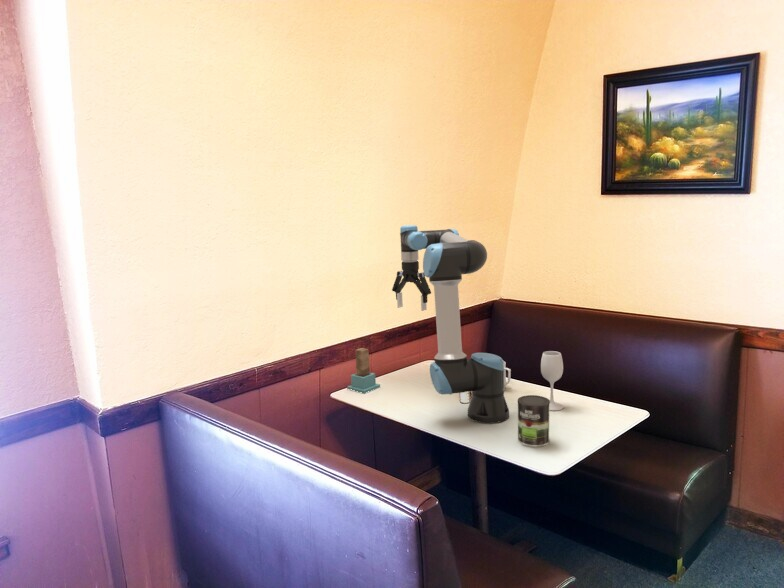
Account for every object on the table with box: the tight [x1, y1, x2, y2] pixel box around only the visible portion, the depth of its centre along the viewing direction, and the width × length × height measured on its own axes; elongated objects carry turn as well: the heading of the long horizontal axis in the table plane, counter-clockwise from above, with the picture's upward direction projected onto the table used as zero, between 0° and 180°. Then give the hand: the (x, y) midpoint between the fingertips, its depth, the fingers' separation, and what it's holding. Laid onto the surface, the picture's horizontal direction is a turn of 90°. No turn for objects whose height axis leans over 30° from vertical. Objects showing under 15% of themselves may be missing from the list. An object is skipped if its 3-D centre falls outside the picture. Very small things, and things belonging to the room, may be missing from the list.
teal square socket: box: [346, 372, 381, 394], centre depth 259 cm, size 10×10×6 cm
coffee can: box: [517, 394, 550, 448], centre depth 198 cm, size 10×10×14 cm
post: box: [354, 347, 371, 377], centre depth 258 cm, size 4×4×16 cm
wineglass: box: [540, 350, 565, 411], centre depth 227 cm, size 9×9×21 cm
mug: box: [503, 360, 512, 389], centre depth 251 cm, size 12×9×11 cm
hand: (411, 308), depth 266 cm, fingers open, 13 cm apart
